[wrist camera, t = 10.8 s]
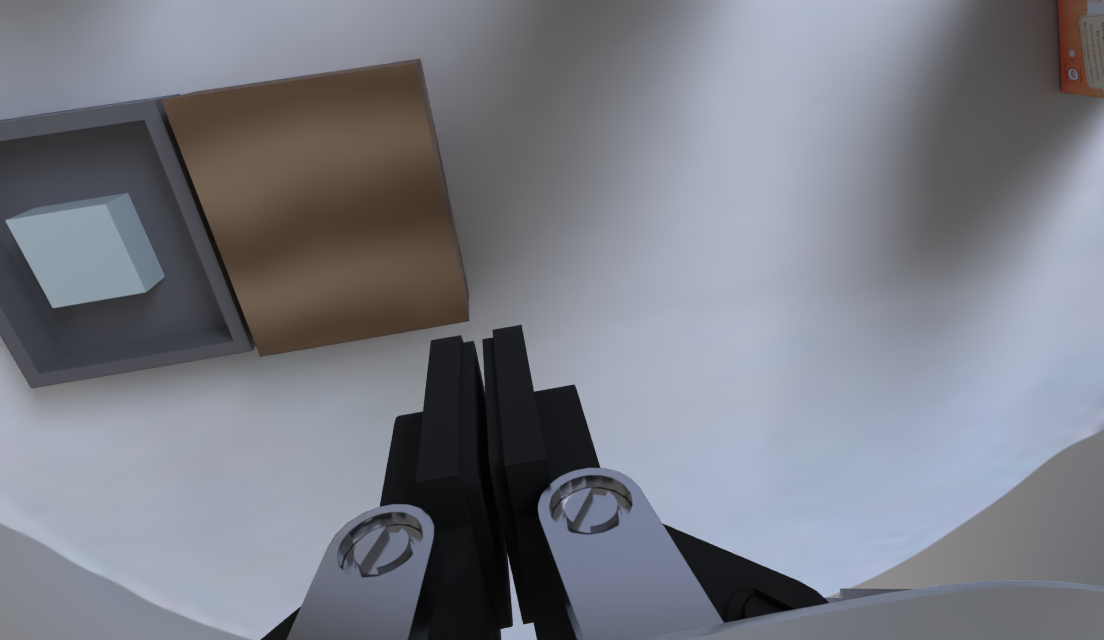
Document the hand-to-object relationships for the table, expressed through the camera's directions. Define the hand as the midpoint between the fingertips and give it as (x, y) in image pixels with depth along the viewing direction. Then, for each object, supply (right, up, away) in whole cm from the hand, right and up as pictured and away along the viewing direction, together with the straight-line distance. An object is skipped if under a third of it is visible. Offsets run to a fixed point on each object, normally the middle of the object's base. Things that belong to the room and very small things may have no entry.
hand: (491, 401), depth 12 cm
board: (-11, +8, +25) cm, 28 cm away
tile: (-24, +5, +21) cm, 32 cm away
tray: (-24, +6, +24) cm, 34 cm away
